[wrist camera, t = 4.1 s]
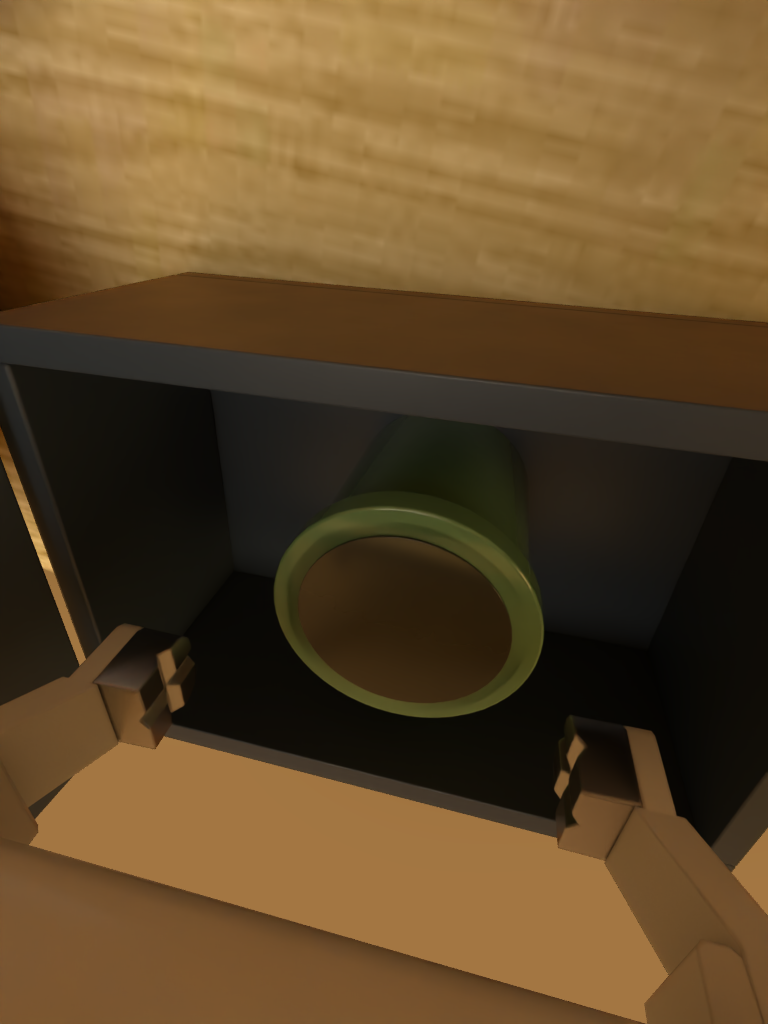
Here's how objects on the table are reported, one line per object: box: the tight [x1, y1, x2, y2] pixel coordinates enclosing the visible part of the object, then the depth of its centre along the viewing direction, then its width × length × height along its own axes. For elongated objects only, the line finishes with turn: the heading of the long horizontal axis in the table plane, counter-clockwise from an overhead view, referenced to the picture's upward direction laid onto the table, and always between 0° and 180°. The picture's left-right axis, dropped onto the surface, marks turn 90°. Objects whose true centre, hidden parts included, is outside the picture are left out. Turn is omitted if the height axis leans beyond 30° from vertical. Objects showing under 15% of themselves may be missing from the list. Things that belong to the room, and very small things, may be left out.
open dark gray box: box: [0, 272, 768, 872], centre depth 15 cm, size 19×13×8 cm
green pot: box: [274, 415, 544, 718], centre depth 15 cm, size 7×7×7 cm
